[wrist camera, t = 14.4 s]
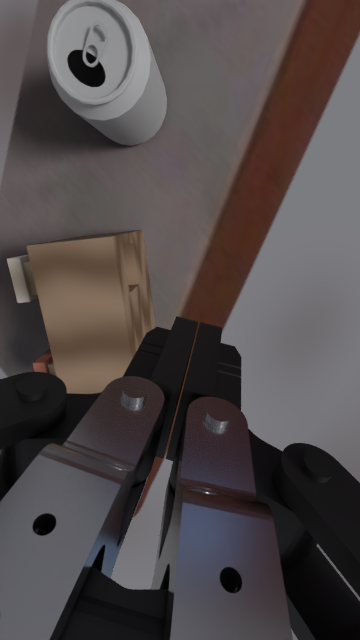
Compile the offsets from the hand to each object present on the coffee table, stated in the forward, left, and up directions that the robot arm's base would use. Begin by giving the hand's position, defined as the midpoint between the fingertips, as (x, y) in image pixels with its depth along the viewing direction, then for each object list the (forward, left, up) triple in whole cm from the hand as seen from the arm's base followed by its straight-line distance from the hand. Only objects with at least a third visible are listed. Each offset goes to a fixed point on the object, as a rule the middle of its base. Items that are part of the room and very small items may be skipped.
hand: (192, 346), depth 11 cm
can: (-15, -6, -28) cm, 32 cm away
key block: (+5, -10, -28) cm, 30 cm away
